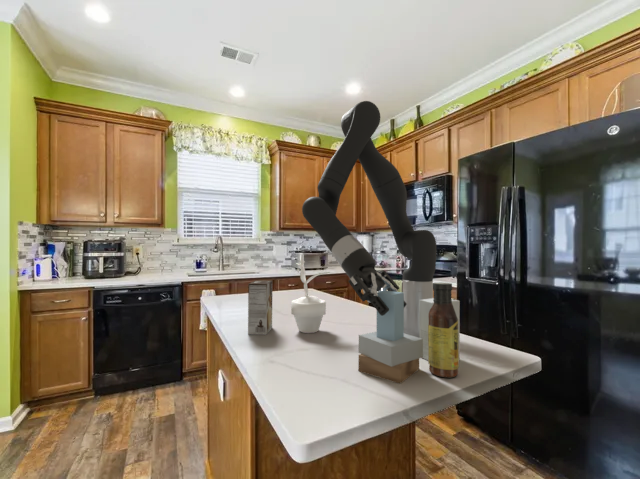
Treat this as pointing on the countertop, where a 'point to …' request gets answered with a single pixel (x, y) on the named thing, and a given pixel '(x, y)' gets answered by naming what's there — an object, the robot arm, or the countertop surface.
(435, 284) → the sauce bottle
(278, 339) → the countertop surface
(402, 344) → the block top
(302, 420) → the countertop surface
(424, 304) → the skincare box
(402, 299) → the blue block
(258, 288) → the coffee box
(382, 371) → the block bottom
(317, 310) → the potted plant
